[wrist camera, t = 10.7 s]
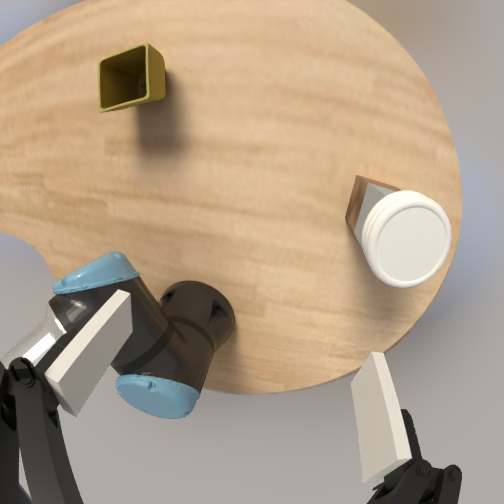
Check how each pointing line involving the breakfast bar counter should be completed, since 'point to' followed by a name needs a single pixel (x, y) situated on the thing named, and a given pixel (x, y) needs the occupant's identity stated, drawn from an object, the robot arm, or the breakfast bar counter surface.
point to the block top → (369, 206)
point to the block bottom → (361, 198)
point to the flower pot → (131, 78)
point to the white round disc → (406, 239)
